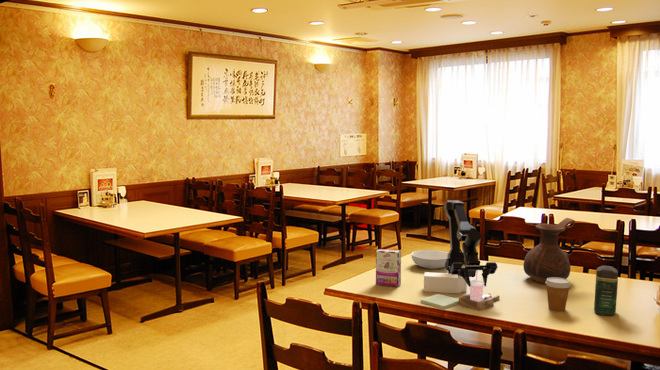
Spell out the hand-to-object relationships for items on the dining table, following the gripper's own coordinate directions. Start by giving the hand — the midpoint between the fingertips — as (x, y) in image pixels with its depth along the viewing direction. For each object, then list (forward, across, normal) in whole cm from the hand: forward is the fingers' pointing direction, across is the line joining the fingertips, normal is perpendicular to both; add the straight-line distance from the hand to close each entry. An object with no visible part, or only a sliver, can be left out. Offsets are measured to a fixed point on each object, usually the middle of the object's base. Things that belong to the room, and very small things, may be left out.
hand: (477, 286), depth 229 cm
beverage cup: (+5, 0, -6) cm, 8 cm away
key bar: (+2, -5, -10) cm, 12 cm away
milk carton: (-14, +17, -21) cm, 31 cm away
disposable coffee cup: (+10, -31, -2) cm, 33 cm away
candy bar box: (-17, +32, -30) cm, 47 cm away
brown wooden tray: (+3, -3, -9) cm, 10 cm away
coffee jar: (+13, -49, +1) cm, 50 cm away
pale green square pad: (+2, +14, -10) cm, 17 cm away
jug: (-20, -46, -33) cm, 59 cm away
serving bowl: (-40, +4, -53) cm, 66 cm away
